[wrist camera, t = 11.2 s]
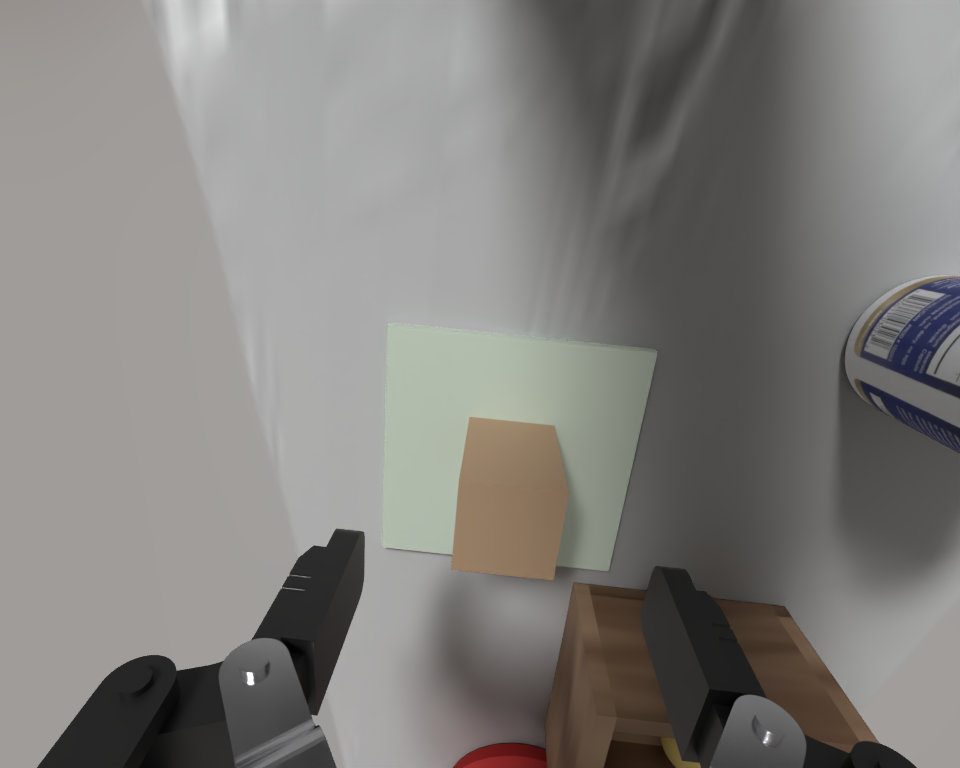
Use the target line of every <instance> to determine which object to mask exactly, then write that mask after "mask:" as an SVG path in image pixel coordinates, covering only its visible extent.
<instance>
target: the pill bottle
mask: <svg viewBox="0 0 960 768" xmlns="http://www.w3.org/2000/svg"><path fill="white" fill-rule="evenodd" d="M845 368H846V373H847V376H848V379H849V381H850V383H851V385H852V387H853V389H854V390H855V391H856V392H857V394H858V395H859V396H860V397H861V398H862V399H863V400H864V401H866V402H867V403H869V404H870V405H872V406H873V407H875V408H876V409H878V410H880V411H882V412H883V413H885V414H887V415H889V416H891V417H893V418H895V419H896V420H898V421H900V422H902V423H904V424H906V425H908V426H910V427H911V428H913V429H915V430H917V431H919V432H921V433H923V434H925V435H927V436H928V437H930V438H932V439H934V440H936V441H938V442H940V443H941V444H943V445H945V446H947V447H949V448H951V449H953V450H955V451H957V452H958V453H960V276H950V275H937V276H929V277H923V278H919V279H915V280H912V281H909V282H906V283H904V284H901V285H899V286H897V287H895V288H893V289H892V290H890V291H888V292H887V293H885V294H884V295H882V296H881V297H880V298H878V299H877V300H876V301H875V302H874V303H873V304H872V305H870V306H869V307H868V308H867V309H866V311H865V312H864V313H863V314H862V315H861V317H860V318H859V319H858V321H857V322H856V324H855V326H854V327H853V329H852V331H851V334H850V336H849V339H848V342H847V346H846V351H845Z"/></svg>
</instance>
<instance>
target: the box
mask: <svg viewBox="0 0 960 768" xmlns="http://www.w3.org/2000/svg"><path fill="white" fill-rule="evenodd" d="M646 593H647V591H643V590H635V589H626V588H617V587H608V586H599V585H590V584H582V583H573V588H572V593H571V598H570V603H569V608H568V613H567V618H566V623H565V628H564V633H563V638H562V643H561V648H560V653H559V658H558V663H557V668H556V673H555V678H554V683H553V688H552V693H551V698H550V703H549V708H548V713H547V718H546V723H545V728H544V729H545V743H546V757H547V768H676V767H675V766H674V765H673V764H672V763H671V762H670V760H669V759H668V757H667V755H666V753H665V751H664V749H663V746H662V742H661V737H666V738H675V737H674V733H673V730H672V727H671V724H670V720H669V717H668V714H667V710H666V707H665V704H664V701H663V697H662V694H661V691H660V687H659V684H658V681H657V678H656V674H655V671H654V668H653V664H652V661H651V658H650V654H649V651H648V648H647V645H646V641H645V638H644V635H643V631H642V623H641V614H642V607H643V604H644V600H645V597H646ZM712 599H713V600H714V601H715V602H716V603H717V604H718V605H719V606H720V607H721V609H722V611H723V613H724V615H725V616H726V618H727V620H728V622H729V624H730V629H732V630H733V632H734V634H735V636H736V638H737V643H738V644H740V646H741V648H742V650H743V652H744V654H745V656H746V658H747V660H748V662H749V664H750V666H751V668H752V669H753V671H754V673H755V675H756V677H757V679H758V681H759V683H760V685H761V687H762V689H763V691H764V693H765V695H766V697H767V699H768V700H770V701H772V702H774V703H776V704H777V705H779V706H780V707H781V708H783V709H784V710H785V711H786V712H787V713H788V714H789V715H790V716H791V717H792V718H793V719H794V720H795V721H796V722H797V724H798V725H799V727H800V728H801V730H802V732H803V734H805V735H807V736H809V737H811V738H813V739H816V740H818V741H820V742H823V743H825V744H828V745H830V746H833V747H835V748H838V749H840V750H843V751H845V752H847V753H850V752H851V750H852V748H853V746H854V745H855V744H856V743H858V742H861V741H872V742H876V743H879V742H878V741H877V739H876V738H875V736H874V735H873V733H872V732H871V730H870V729H869V728H868V726H867V725H866V723H865V722H864V720H863V719H862V717H861V716H860V714H859V713H858V712H857V710H856V709H855V707H854V706H853V704H852V703H851V702H850V700H849V699H848V697H847V696H846V694H845V693H844V691H843V690H842V689H841V687H840V686H839V684H838V683H837V681H836V680H835V679H834V677H833V676H832V674H831V673H830V671H829V670H828V668H827V667H826V666H825V664H824V663H823V661H822V660H821V658H820V657H819V655H818V654H817V653H816V651H815V650H814V648H813V647H812V645H811V644H810V643H809V641H808V640H807V638H806V637H805V635H804V634H803V632H802V631H801V630H800V628H799V627H798V625H797V624H796V622H795V621H794V620H793V618H792V617H791V615H790V614H789V612H788V611H787V609H786V608H785V607H784V606H776V605H767V604H758V603H750V602H741V601H732V600H723V599H714V598H712ZM879 744H880V743H879Z"/></svg>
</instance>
